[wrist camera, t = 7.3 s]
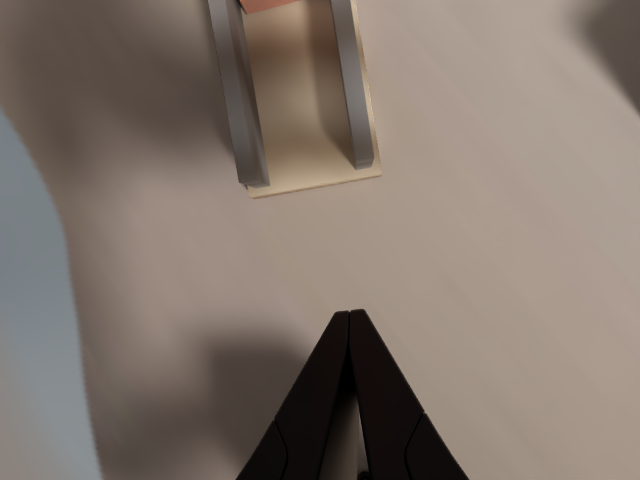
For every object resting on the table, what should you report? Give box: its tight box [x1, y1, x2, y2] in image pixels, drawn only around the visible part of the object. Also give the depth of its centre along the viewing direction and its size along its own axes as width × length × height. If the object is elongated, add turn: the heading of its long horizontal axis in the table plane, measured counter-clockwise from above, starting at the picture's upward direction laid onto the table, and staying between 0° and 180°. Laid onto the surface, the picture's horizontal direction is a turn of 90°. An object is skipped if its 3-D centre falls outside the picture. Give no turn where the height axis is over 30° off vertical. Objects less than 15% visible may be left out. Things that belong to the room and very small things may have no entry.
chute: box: [208, 0, 382, 199], centre depth 18 cm, size 16×9×4 cm, turn 9°
